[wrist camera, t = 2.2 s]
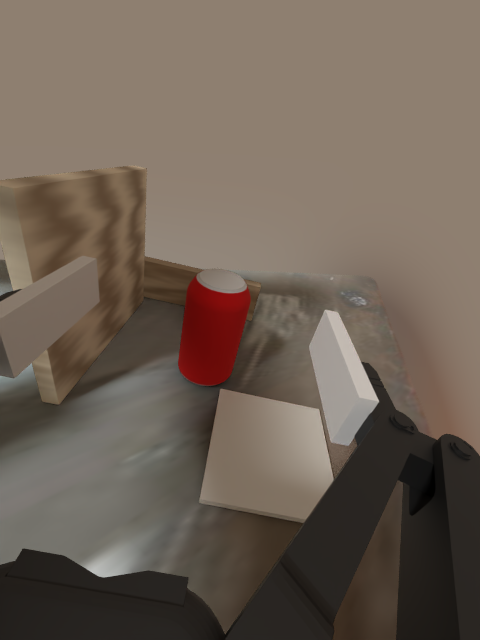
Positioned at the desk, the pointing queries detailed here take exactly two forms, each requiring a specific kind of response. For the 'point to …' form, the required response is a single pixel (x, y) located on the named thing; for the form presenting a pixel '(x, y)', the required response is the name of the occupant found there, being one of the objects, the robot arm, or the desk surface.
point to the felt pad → (266, 457)
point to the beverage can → (212, 326)
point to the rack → (92, 241)
